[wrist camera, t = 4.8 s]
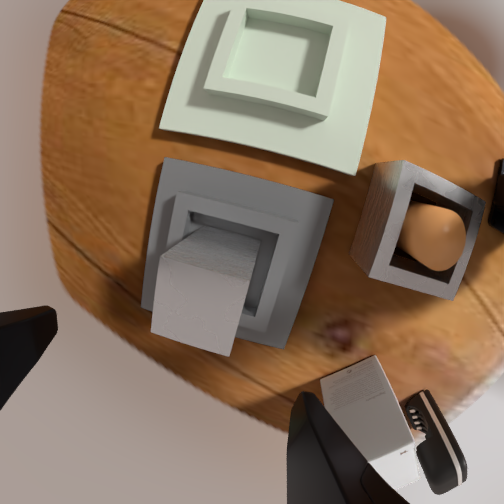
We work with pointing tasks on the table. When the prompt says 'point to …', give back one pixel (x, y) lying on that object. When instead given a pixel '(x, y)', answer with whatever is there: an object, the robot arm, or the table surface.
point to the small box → (373, 420)
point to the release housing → (391, 220)
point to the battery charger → (436, 445)
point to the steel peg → (204, 288)
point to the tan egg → (432, 235)
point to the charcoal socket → (249, 224)
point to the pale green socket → (280, 78)
